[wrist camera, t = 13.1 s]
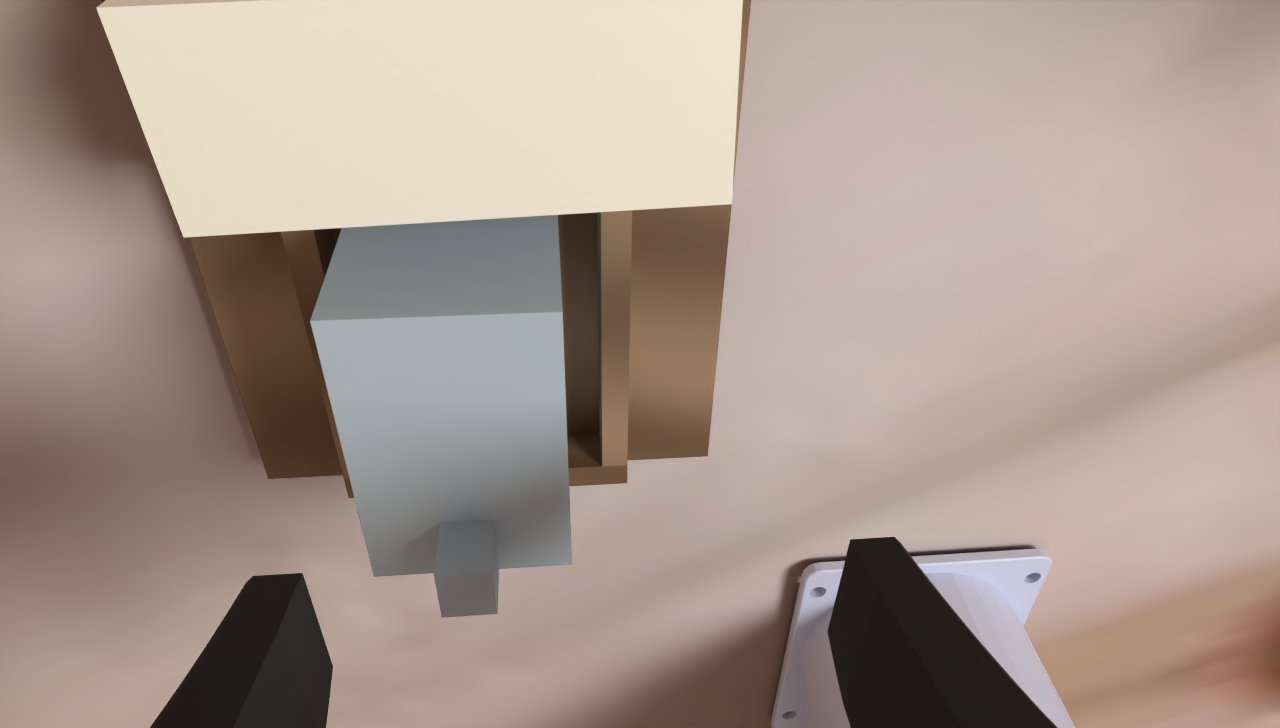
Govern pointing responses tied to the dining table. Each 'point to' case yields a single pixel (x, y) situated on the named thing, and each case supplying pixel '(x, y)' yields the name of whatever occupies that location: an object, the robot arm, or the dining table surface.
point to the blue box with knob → (451, 398)
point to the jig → (592, 329)
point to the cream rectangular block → (429, 107)
